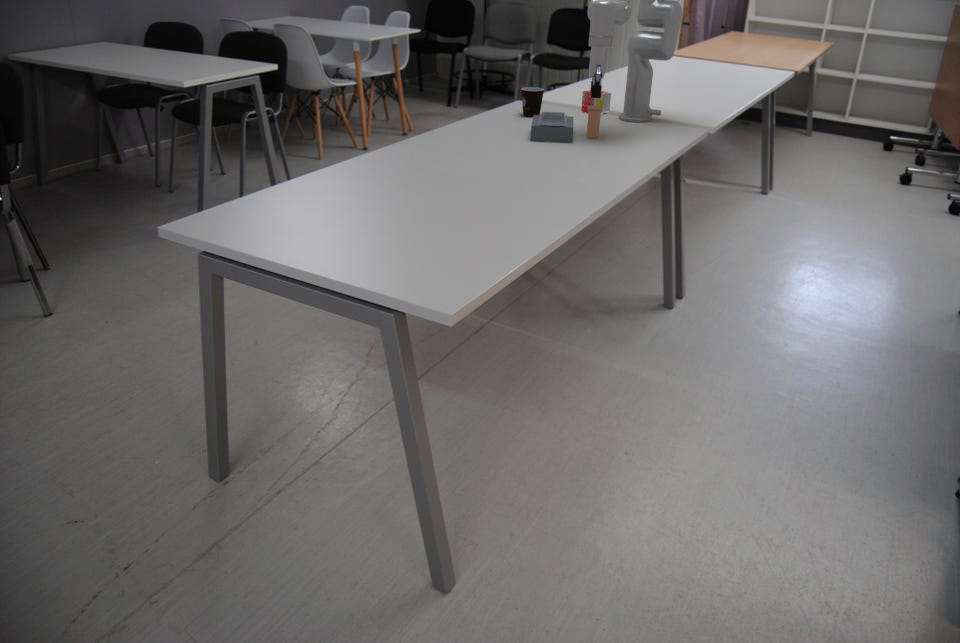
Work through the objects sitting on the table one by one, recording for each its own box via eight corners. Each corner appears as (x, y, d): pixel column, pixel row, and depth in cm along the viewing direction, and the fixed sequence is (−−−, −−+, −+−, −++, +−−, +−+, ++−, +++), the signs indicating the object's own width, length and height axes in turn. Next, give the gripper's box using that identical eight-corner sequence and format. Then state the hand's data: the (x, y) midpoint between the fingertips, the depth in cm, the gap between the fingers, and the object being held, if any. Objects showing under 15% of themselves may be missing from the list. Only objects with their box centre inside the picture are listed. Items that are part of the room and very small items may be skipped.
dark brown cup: (543, 118, 283) (544, 91, 279) (520, 117, 283) (521, 90, 279) (541, 112, 294) (542, 86, 289) (519, 111, 294) (520, 85, 289)
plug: (599, 135, 259) (601, 106, 254) (599, 138, 255) (602, 109, 250) (585, 134, 259) (587, 105, 255) (585, 138, 255) (588, 108, 251)
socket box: (572, 130, 265) (573, 115, 262) (572, 142, 249) (573, 126, 246) (533, 129, 266) (533, 113, 264) (530, 140, 250) (531, 124, 248)
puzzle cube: (593, 115, 290) (594, 94, 287) (581, 111, 296) (582, 91, 293) (609, 113, 294) (611, 93, 290) (597, 110, 300) (599, 89, 296)
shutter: (564, 121, 254) (564, 112, 252) (563, 126, 247) (564, 116, 246) (541, 120, 254) (542, 111, 253) (540, 125, 248) (541, 116, 246)
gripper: (588, 38, 251) (583, 91, 258) (589, 43, 235) (584, 99, 243) (610, 39, 250) (605, 92, 258) (613, 44, 235) (607, 100, 242)
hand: (595, 95), depth 250 cm, fingers open, 9 cm apart
